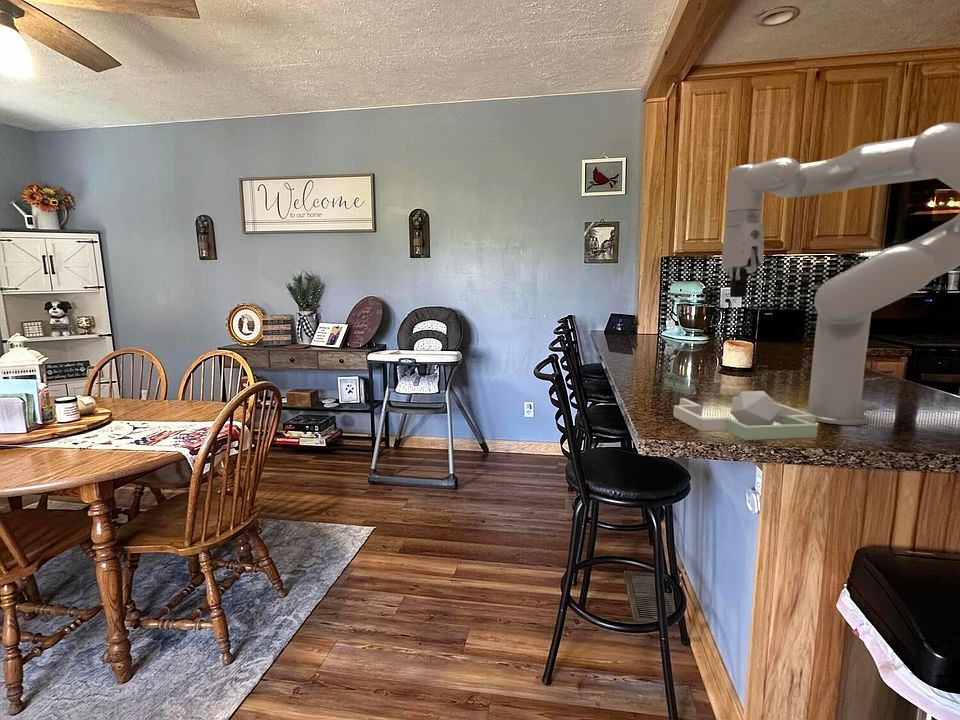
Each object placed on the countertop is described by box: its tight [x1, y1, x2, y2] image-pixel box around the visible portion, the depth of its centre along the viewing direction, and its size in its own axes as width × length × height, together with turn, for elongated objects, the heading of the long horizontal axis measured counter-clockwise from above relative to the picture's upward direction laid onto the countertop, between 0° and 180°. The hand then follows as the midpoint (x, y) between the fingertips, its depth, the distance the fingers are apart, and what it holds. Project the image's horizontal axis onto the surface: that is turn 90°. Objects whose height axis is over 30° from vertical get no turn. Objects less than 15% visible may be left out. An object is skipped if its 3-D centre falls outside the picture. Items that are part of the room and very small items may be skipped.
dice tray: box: [673, 396, 818, 441], centre depth 110 cm, size 25×26×2 cm
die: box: [729, 390, 782, 426], centre depth 104 cm, size 8×9×10 cm
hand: (737, 296), depth 121 cm, fingers closed
